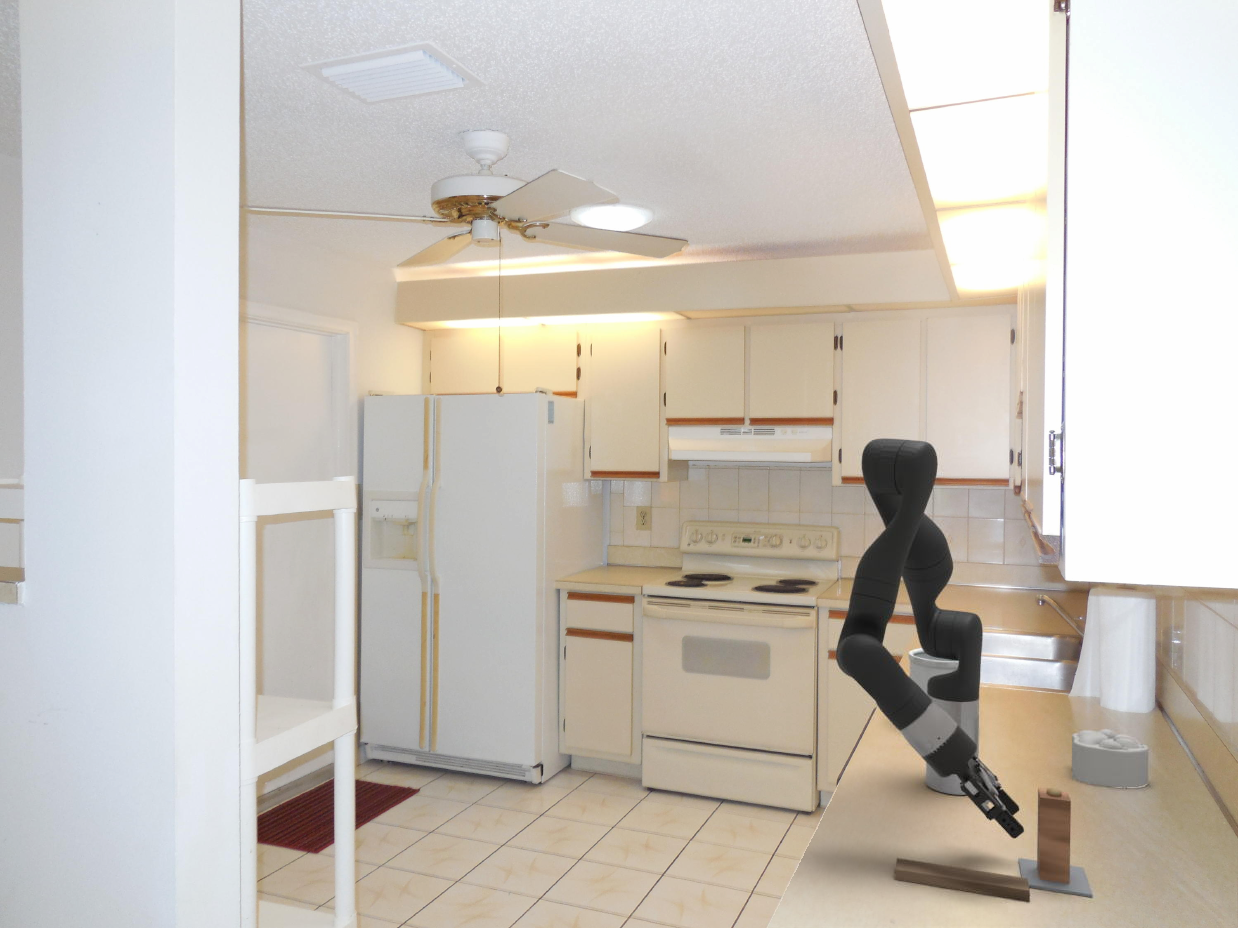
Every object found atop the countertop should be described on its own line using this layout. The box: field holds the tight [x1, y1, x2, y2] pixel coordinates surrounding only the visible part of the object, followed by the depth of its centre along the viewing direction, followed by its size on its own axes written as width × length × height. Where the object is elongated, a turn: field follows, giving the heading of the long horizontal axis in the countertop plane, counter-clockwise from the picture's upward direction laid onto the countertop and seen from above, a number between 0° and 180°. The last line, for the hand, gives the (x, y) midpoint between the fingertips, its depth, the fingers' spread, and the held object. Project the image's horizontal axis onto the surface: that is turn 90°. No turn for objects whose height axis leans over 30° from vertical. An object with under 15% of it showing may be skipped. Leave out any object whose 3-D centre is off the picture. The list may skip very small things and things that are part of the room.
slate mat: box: [1017, 857, 1094, 898], centre depth 133 cm, size 9×9×1 cm
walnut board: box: [894, 857, 1031, 902], centre depth 130 cm, size 4×18×2 cm, turn 70°
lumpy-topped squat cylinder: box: [1071, 728, 1150, 788], centre depth 175 cm, size 10×13×9 cm
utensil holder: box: [908, 647, 959, 694], centre depth 205 cm, size 15×15×18 cm
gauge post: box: [1036, 787, 1072, 884], centre depth 133 cm, size 4×4×13 cm
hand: (1017, 823), depth 134 cm, fingers open, 8 cm apart
